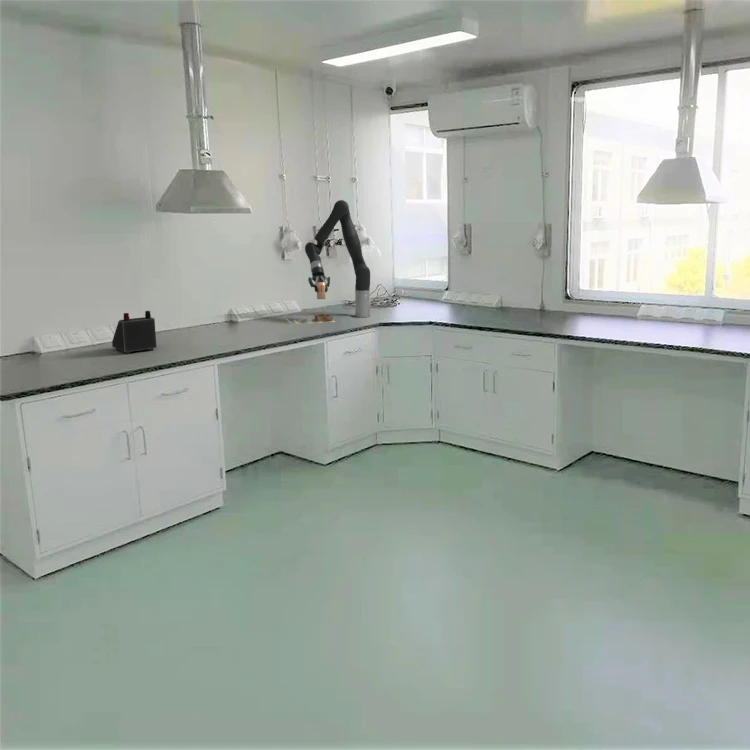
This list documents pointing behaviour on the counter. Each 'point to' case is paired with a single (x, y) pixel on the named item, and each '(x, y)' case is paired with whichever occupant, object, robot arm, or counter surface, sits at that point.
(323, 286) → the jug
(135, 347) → the voltmeter
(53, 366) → the counter surface
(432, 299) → the counter surface
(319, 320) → the station board
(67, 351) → the counter surface
